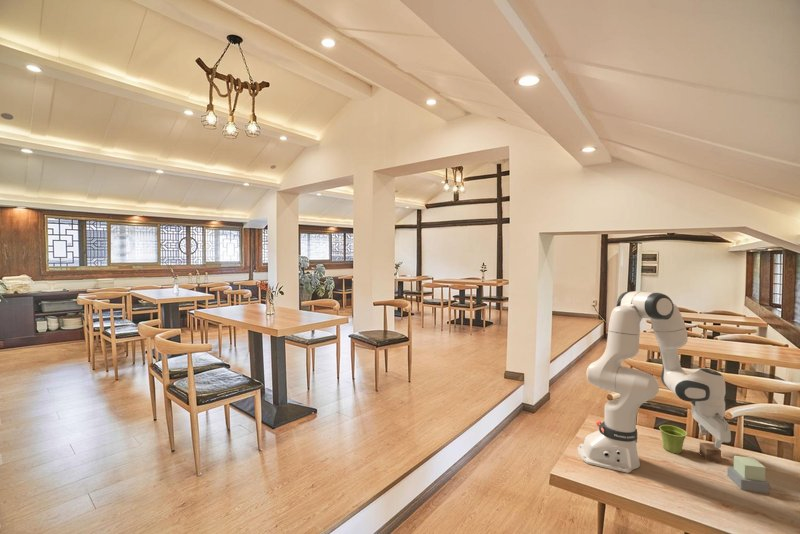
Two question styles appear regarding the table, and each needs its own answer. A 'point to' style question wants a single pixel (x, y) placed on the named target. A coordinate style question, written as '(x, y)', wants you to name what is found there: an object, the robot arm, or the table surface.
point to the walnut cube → (710, 452)
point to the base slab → (747, 482)
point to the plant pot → (672, 438)
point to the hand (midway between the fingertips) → (710, 440)
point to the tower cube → (749, 468)
